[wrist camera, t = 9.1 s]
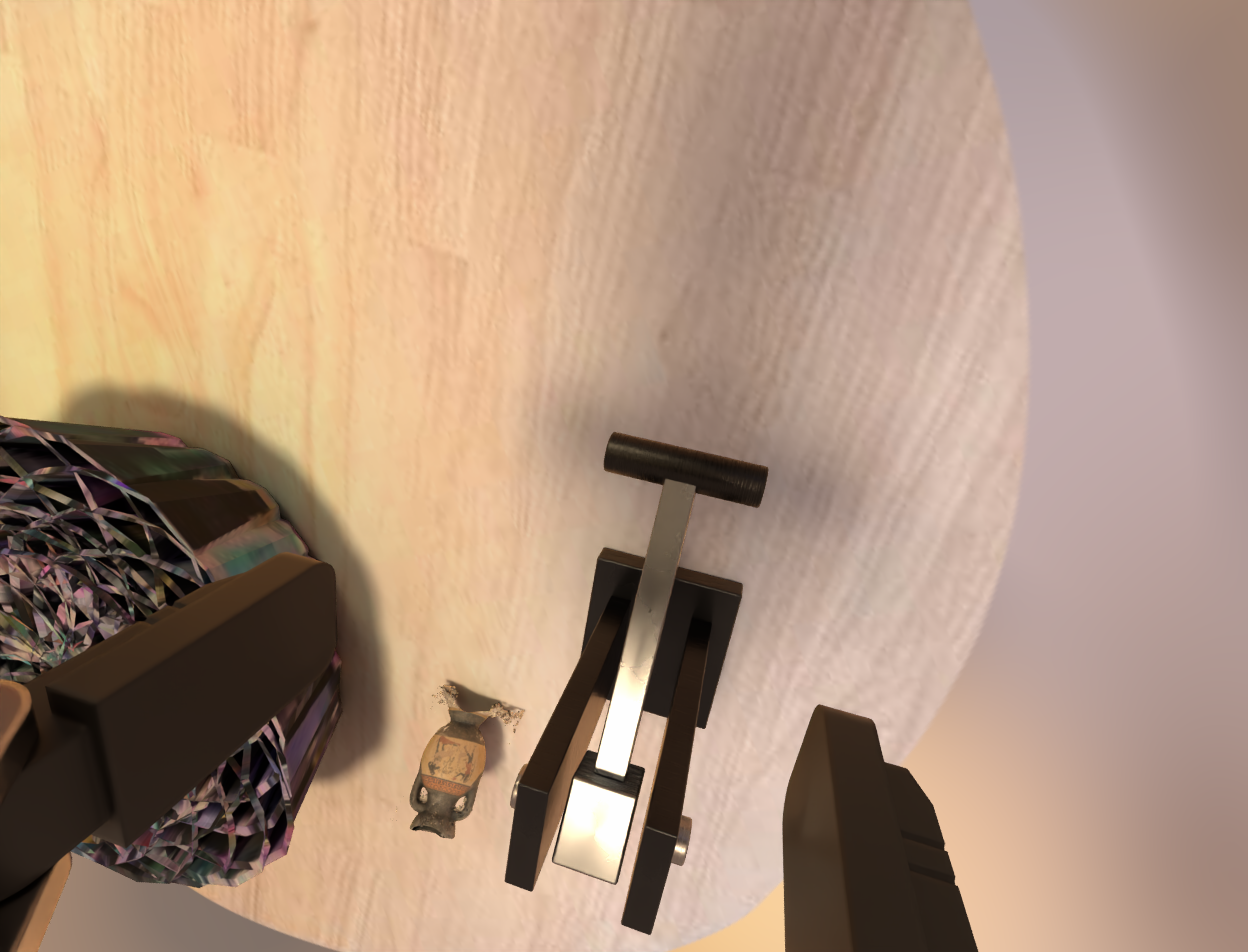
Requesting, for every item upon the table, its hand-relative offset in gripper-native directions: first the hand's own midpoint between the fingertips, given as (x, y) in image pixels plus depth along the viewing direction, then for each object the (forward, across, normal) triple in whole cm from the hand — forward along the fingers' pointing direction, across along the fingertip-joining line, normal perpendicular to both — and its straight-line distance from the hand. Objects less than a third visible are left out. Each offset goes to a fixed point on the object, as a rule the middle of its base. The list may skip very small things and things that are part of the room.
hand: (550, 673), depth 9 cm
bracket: (+18, 0, +11) cm, 21 cm away
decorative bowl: (+18, +27, +18) cm, 37 cm away
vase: (+18, +9, +21) cm, 29 cm away
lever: (+11, -1, +7) cm, 12 cm away
